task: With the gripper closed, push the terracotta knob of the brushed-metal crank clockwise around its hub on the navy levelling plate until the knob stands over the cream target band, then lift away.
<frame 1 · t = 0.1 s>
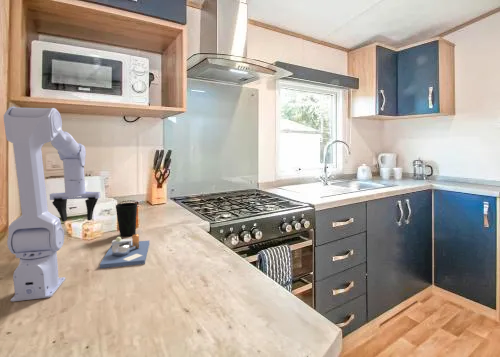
hand: (77, 220, 95), 10 cm above the counter, tool pointing down, fingers open, 7 cm apart
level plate: (127, 254, 91), on the counter
cup: (127, 235, 112), on the counter
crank: (126, 244, 90), point 4 cm above the counter, hinge at -45.0°
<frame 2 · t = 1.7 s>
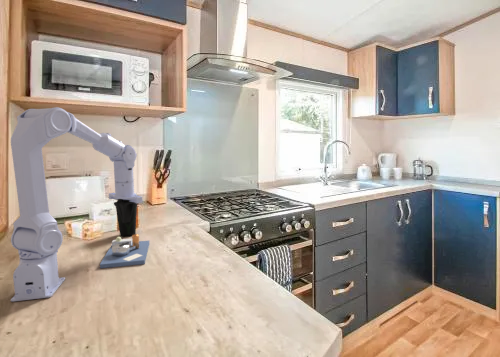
hand: (126, 222, 95), 9 cm above the counter, tool pointing down, fingers closed
nothing on the counter moved.
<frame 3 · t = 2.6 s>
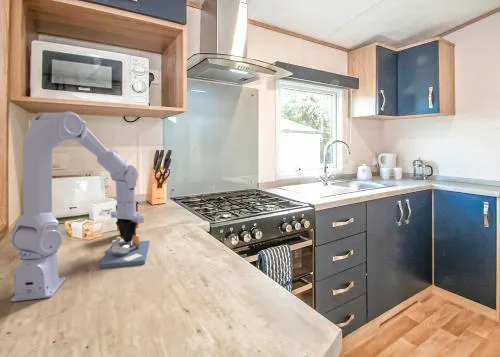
hand: (128, 241, 95), 3 cm above the counter, tool pointing down, fingers closed
nothing on the counter moved.
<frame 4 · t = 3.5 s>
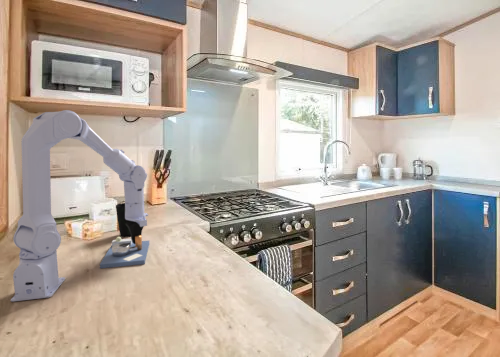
hand: (136, 242, 93), 3 cm above the counter, tool pointing down, fingers closed, pressing on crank
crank: (127, 244, 90), point 4 cm above the counter, hinge at -63.3°, touching gripper
everything else where it was.
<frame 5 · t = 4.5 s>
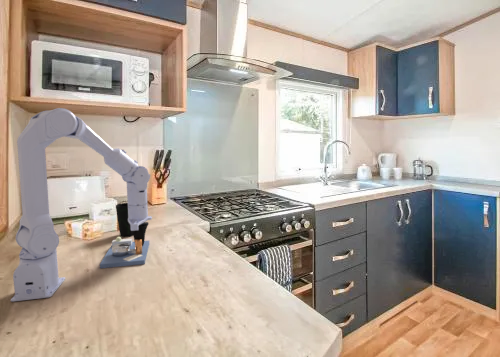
hand: (139, 245, 90), 3 cm above the counter, tool pointing down, fingers closed, pressing on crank
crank: (127, 246, 88), point 4 cm above the counter, hinge at -103.4°, touching gripper
everything else where it was.
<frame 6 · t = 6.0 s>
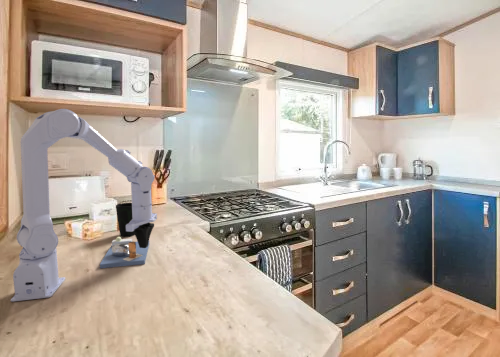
hand: (143, 247, 89), 3 cm above the counter, tool pointing down, fingers closed
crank: (124, 247, 87), point 4 cm above the counter, hinge at -135.2°
everything else where it was.
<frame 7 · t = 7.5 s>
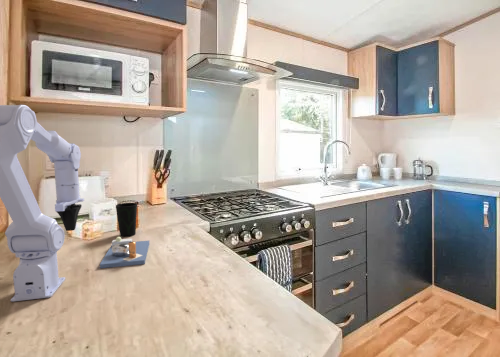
hand: (70, 229, 84), 10 cm above the counter, tool pointing down, fingers closed
nothing on the counter moved.
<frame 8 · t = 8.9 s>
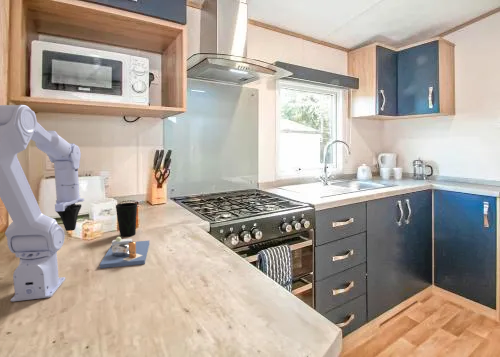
hand: (70, 229, 84), 10 cm above the counter, tool pointing down, fingers closed
nothing on the counter moved.
at the end: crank at -135° (first picture: -45°) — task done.
